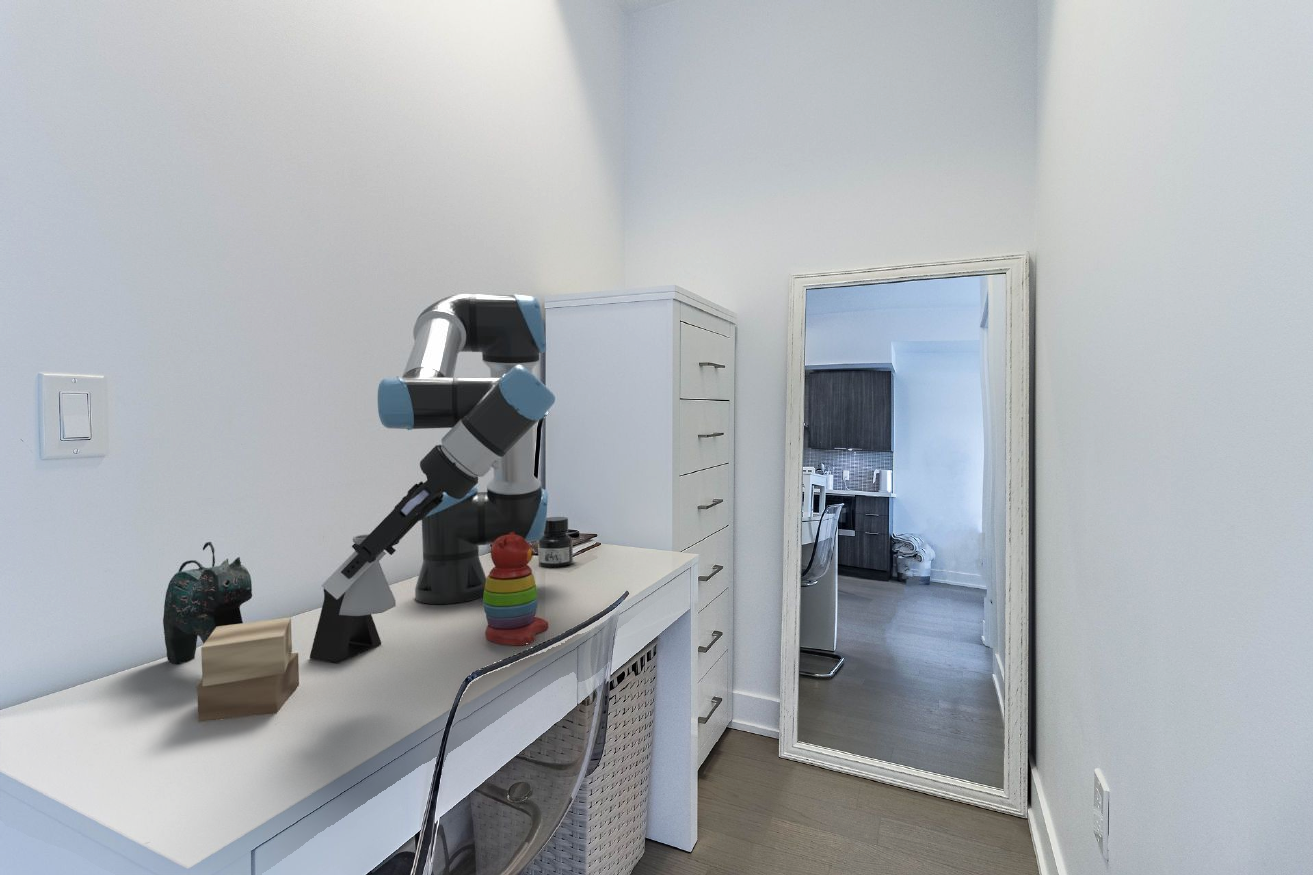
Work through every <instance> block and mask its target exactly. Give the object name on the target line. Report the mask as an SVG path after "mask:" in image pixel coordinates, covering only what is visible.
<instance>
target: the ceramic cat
mask: <svg viewBox="0 0 1313 875" xmlns="http://www.w3.org/2000/svg"><path fill="white" fill-rule="evenodd" d="M207 547H210V551H211V553H212V565H211V567H205V566H203V564H201V563H200V562H199V561H198V560H196V559H192V560H186V561H184V562H183V563H182V564H181V565H180V566H179V569H178V571H177V572H176V573H175V574H174V575H173V576H172V578H171V579H170V580H169V583H168V585H167V589H166V591H165V598H164V605H163V617H162V624H163V634H164V644H165V647H166V657H167V661H168V662H170V663H171V664H174V665H179V664H183V663H186V662H189V661H193V660H194V659H195V658H196V652H197V643H198V637H199V638H200V639H201V641H202V643H203V644H204V643H205V642H206V640H207V639H208V638H209V636H210V635H211V634H212V632H213V631H214V630H215V628H216V627H218V626H226V625H234V624H242V623H244V622H243V617H242V613H241V605H243V604H244V603H247V602H248V601H250V600H251V599H252V597H253V590H252V589H253V588H252V587H253V586H252V578H251V574H250V572H249V571H248V569H247V568H246V566H244V565H243V564H242V561H241V557H240V556H238V557H237V558H235V559H234V560H233V561H232V562H231V563H229V558H226V559H225V560H224V561H222V563H221V564H220V565H216V566H215V564H216V557H215V548H214V545H213V543H212V541H208V542H205V544H203V547H202V550H203V551H205V550H206V549H207ZM193 563H194V564H196V565H197V566H198V568H193V569H189V570H184V568H185V567H186V566H187V565H188V564H193ZM203 644H202V645H203Z"/></svg>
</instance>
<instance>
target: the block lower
mask: <svg viewBox="0 0 1313 875" xmlns="http://www.w3.org/2000/svg"><path fill="white" fill-rule="evenodd" d="M299 669H300V667H299V652H292V653H291V656H290V659H289V662H288V665H287V668H286V671H285V673H284V674H278V675H271V676H265V677H259V678H253V679H246V680H240V681H234V682H228V683H221V684H215V685H209V686H203V682H202V681H200V682H199V683H197V685H196V689H197V690H196V691H197V693H196V694H197V718H198V723H202V722H204V723H205V722H211V721H213V722H214V721H219V720H221V719H222V720H229V719H239V718H246V717H247V718H249V717H257V716H267V715H273V714H275V715H276V714H277V712H278V713H279V711H280V710H281V709H282V707H284V705H285V704H286V703H287V701H288V700H289V699H290V698H289V697H291V696H292V695H293V694H294V693H295V691H296V690H297V689H298V688H299V686H300V670H299ZM297 687H298V688H297ZM285 702H286V703H285ZM222 720H221V721H222Z"/></svg>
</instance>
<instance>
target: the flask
mask: <svg viewBox="0 0 1313 875" xmlns="http://www.w3.org/2000/svg"><path fill="white" fill-rule="evenodd" d="M369 534H370V533H366V534H358V535H355V536H353V537H352V542H353V544H355V543H357V544H358V545H360V544H361V543H362V542H363V540H364V539H365V538H366V537H367V536H368V535H369ZM396 603H397V602H396V598H395V596H394V593H393V592H392V590H391V586H390V585H389V583H388V580H387V578H386V575H385V573H384V571H383V568H382V566H381V563H380V561H379V559H378V557H377V558H376V560H375V561H374V563H373V564H372V565H371V566H370V567H369V568H368V569H367V570H366V571H365V572H364V573H363V574H362V575H361V576H360V577H359V578H358V579H357V580H356V581H355V582H354V583H353V584H352V585H351V586H350V587H349V588H348V590H347V591H346V593H345V596H344V599H343V602H342V605H341V608H340V613H339V615H349V616H363V615H370V614H371V615H376V614H383V613H384V612H387V611H389V610H391V609H393V608H395V607H396V606H397V604H396Z"/></svg>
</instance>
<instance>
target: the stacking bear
mask: <svg viewBox="0 0 1313 875" xmlns="http://www.w3.org/2000/svg"><path fill="white" fill-rule="evenodd" d="M533 556H534V549H533V547H532V546H531V545H530V544H529V542H526V541H525V539H524V538H523V537H521V536H519V535H515V533H514V532H511V533H510V534H509V535H504V536H501V537H499V538H497V539H496V540H495V541H494V542H493V544H492V545H491V547H490V558H491V561H492V563H493V565H494V567H493V568H491V569H490V571H489V572H488V573H489V574H488V575H486V583H485V589H484V595H483V596H482V597H483V598H482V599H483V600H482V601H483V610H484V613H485V617H486V621H487V627H486V628H485V629H486V630H485V632H484V633H485V634H484V636H485V638H486V639H487V640H488V641H491V643H492V642H493V643H496V644H500V645H506V646H507V645H508V646H525V645H524V644H526V643H530V644H532V642H531V641H533V642H534V640H535V635H537V634H538V633H537V632H539V633H542V632H544V631H543V630H545V631H546V630H548V629H549V623H548V621H547V620H546V619H545V618H543V617H538V616H536V613H537V608H538V595H539V594H538V587H537V585H536V580H535V577H534V574H533V570H532V568H531V567H530V566H529V565H528V564H529V563H530V562H531V561H532V559H533ZM541 631H542V632H541ZM536 633H537V634H536ZM534 634H535V635H534ZM526 645H527V644H526Z"/></svg>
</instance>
